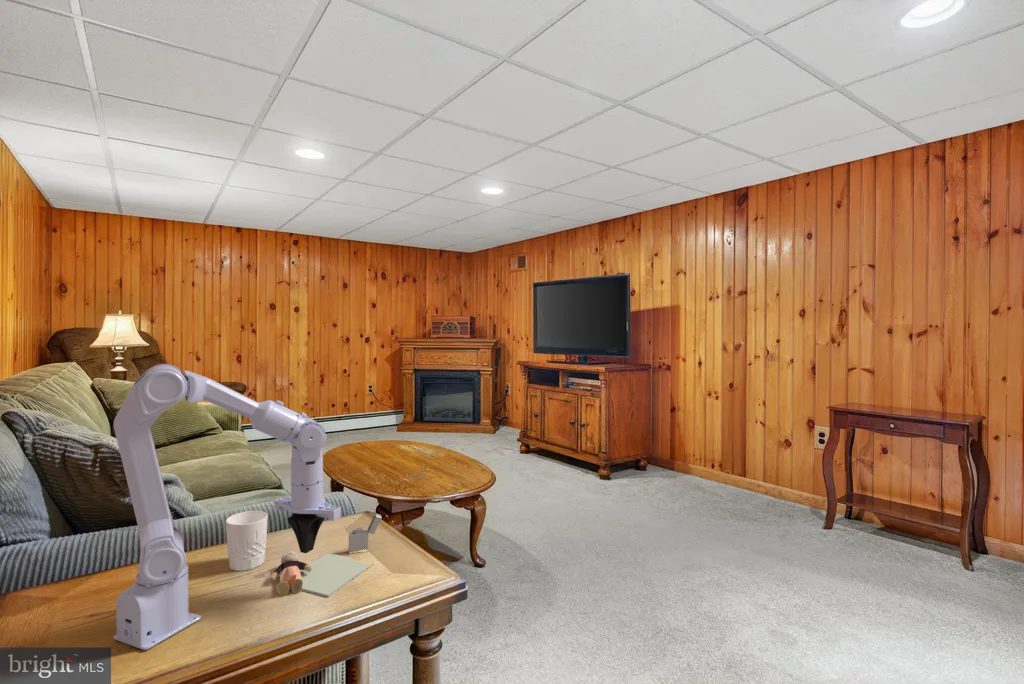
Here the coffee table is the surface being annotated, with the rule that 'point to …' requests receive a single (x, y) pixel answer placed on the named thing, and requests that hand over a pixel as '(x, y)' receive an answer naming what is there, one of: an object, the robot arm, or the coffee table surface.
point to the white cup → (246, 539)
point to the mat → (330, 574)
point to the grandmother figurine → (290, 573)
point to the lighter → (362, 535)
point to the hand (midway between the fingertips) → (306, 550)
